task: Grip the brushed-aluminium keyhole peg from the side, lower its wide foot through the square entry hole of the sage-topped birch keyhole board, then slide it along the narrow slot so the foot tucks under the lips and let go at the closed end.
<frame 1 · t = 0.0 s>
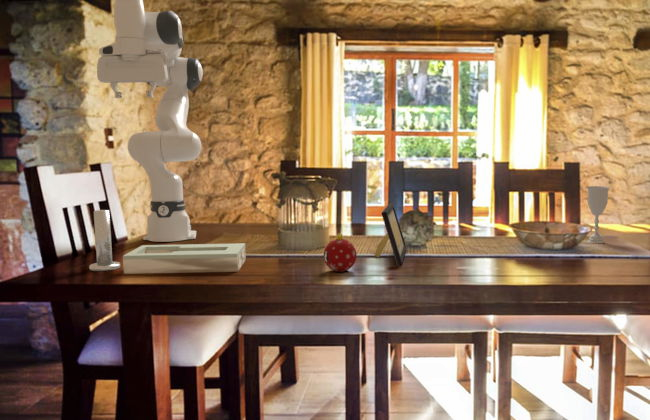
hand: (134, 97, 166), 48 cm above the table, tool pointing down, fingers open, 8 cm apart
keyhole peg: (105, 267, 154), on the table
picture frame: (389, 257, 163), on the table
christmas ornament: (340, 272, 145), on the table
chalice: (595, 242, 181), on the table
keyhole board: (188, 266, 154), on the table
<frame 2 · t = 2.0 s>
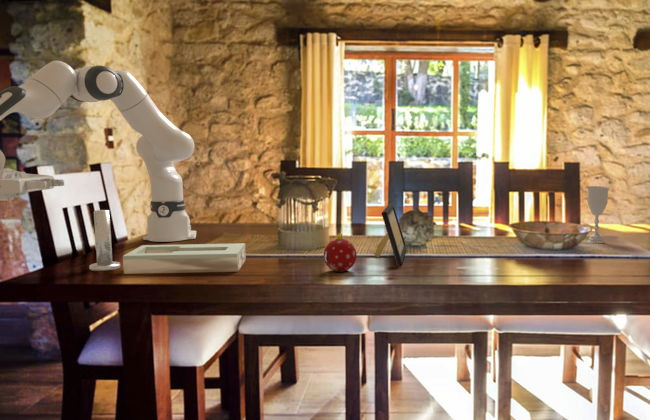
hand: (55, 183, 151), 24 cm above the table, tool horizontal, fingers open, 8 cm apart
nothing on the table moved.
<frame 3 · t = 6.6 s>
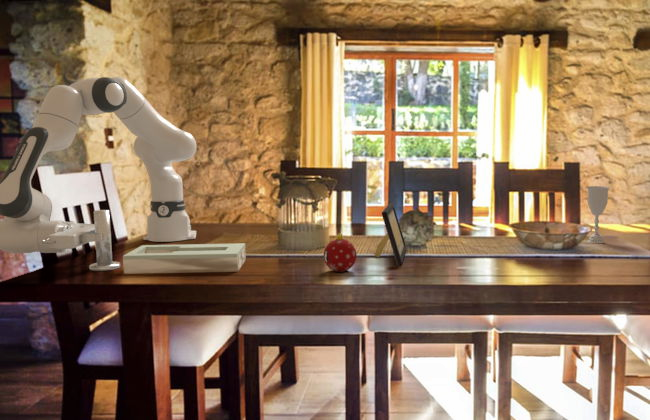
hand: (106, 235, 153), 9 cm above the table, tool horizontal, fingers closed on keyhole peg, 4 cm apart
keyhole peg: (105, 267, 154), on the table, touching gripper
everything else where it was.
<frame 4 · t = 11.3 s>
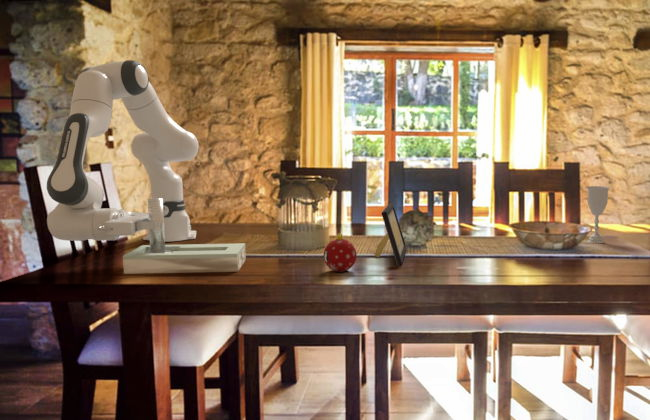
hand: (159, 223, 153), 12 cm above the table, tool horizontal, fingers closed on keyhole peg, 4 cm apart
keyhole peg: (158, 256, 154), point 3 cm above the table, touching gripper
everything else where it was.
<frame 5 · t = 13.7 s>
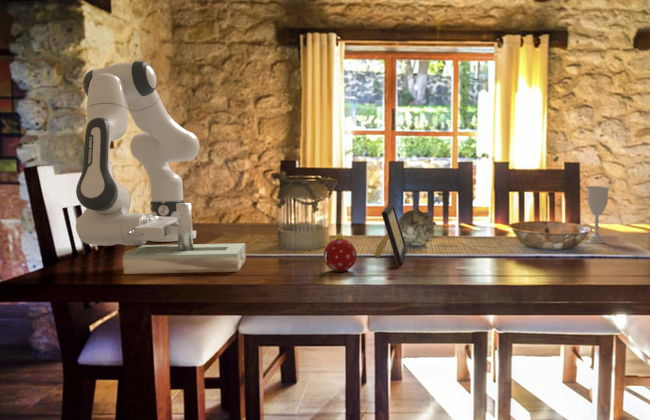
hand: (188, 228, 153), 11 cm above the table, tool horizontal, fingers closed on keyhole peg, 4 cm apart
keyhole peg: (186, 260, 154), point 2 cm above the table, touching gripper
everything else where it was.
when the fingers open (11 cm above the table, at t = 16.1 s): keyhole peg stays where it is, resting on keyhole board.
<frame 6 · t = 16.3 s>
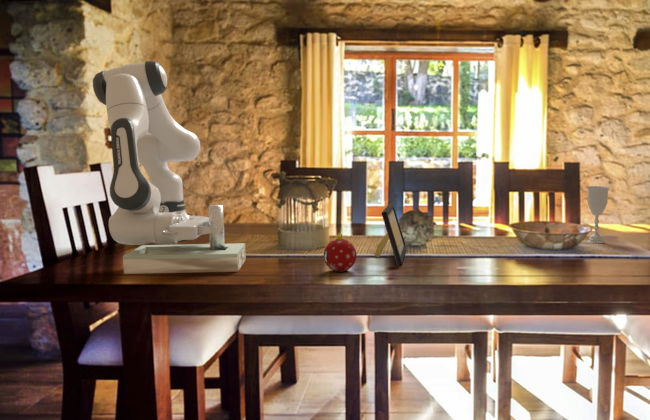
hand: (219, 227, 153), 11 cm above the table, tool horizontal, fingers open, 6 cm apart
keyhole peg: (217, 262, 154), point 1 cm above the table, touching keyhole board
everything else where it was.
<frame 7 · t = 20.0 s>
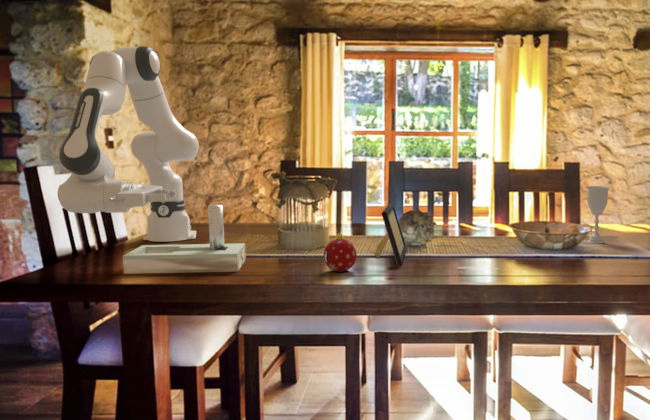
hand: (170, 195, 152), 20 cm above the table, tool horizontal, fingers open, 8 cm apart
nothing on the table moved.
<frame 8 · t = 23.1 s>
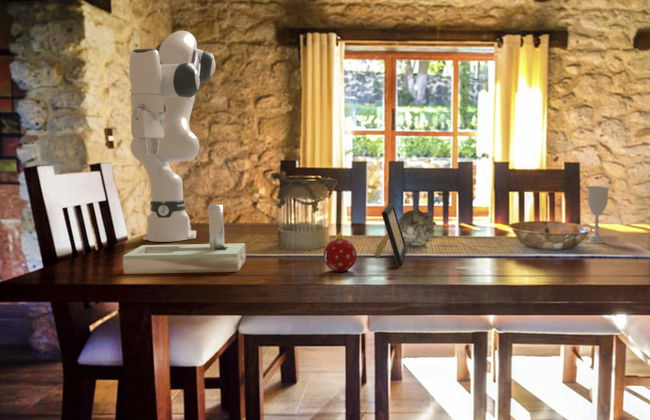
hand: (149, 154, 161), 31 cm above the table, tool pointing down, fingers open, 8 cm apart
nothing on the table moved.
at the end: keyhole peg 0.3 cm from the target spot, point 0.9 cm above the table; keyhole peg tilted 1°; the gripper is holding nothing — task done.
